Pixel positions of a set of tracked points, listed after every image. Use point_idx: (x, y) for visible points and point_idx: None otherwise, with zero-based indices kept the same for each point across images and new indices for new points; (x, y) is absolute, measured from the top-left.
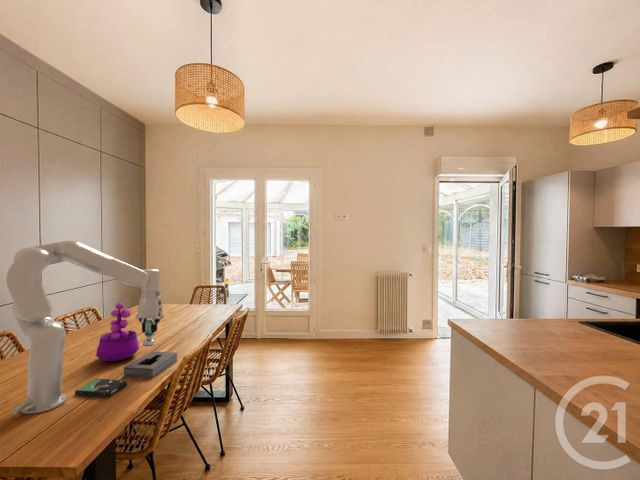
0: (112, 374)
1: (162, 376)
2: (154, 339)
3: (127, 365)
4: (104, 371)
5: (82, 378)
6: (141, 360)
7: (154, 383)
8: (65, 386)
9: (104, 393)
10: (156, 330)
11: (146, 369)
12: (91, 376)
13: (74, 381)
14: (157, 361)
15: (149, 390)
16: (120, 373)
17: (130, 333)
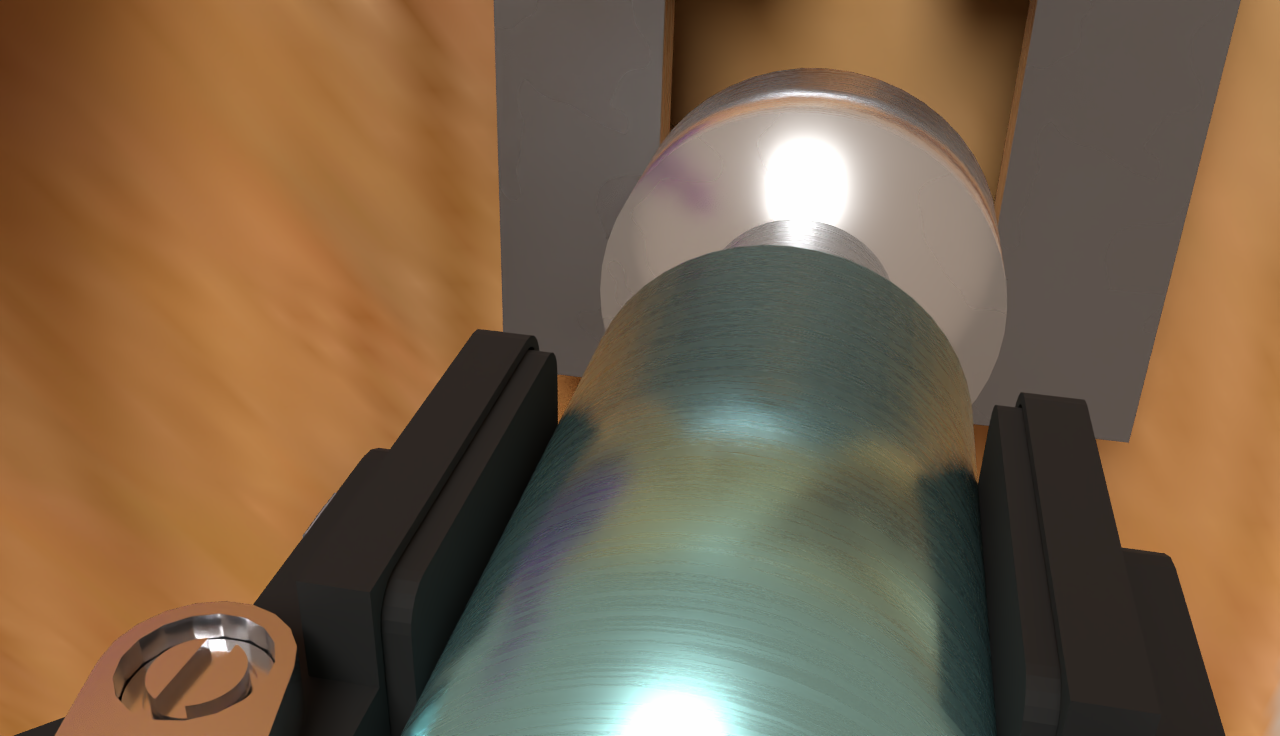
0: (314, 223)
1: (1276, 293)
2: (946, 203)
3: (510, 290)
4: (90, 114)
5: (17, 353)
6: (624, 21)
7: (1229, 531)
8: (45, 550)
9: None
10: (1080, 424)
11: (984, 415)
12: (72, 293)
13: (9, 434)
14: (1055, 60)
15: (1241, 713)
16: (413, 184)
17: None
